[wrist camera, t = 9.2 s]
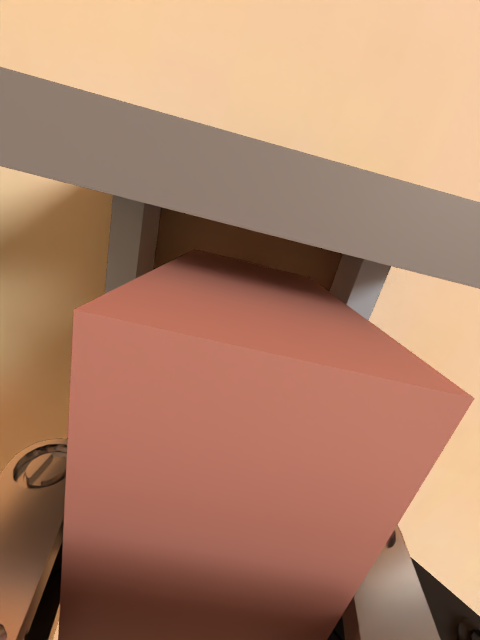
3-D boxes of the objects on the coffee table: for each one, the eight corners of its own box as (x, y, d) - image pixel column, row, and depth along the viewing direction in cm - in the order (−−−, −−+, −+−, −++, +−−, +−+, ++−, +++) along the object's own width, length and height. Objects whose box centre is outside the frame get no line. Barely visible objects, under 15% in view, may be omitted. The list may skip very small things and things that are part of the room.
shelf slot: (394, 234, 11) (631, 245, 4) (307, 448, 14) (364, 635, 8) (119, 160, 10) (-111, 35, 3) (97, 407, 14) (-37, 579, 7)
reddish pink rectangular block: (309, 277, 9) (475, 397, 3) (240, 488, 13) (241, 780, 6) (193, 248, 9) (68, 307, 2) (153, 472, 12) (50, 761, 6)
